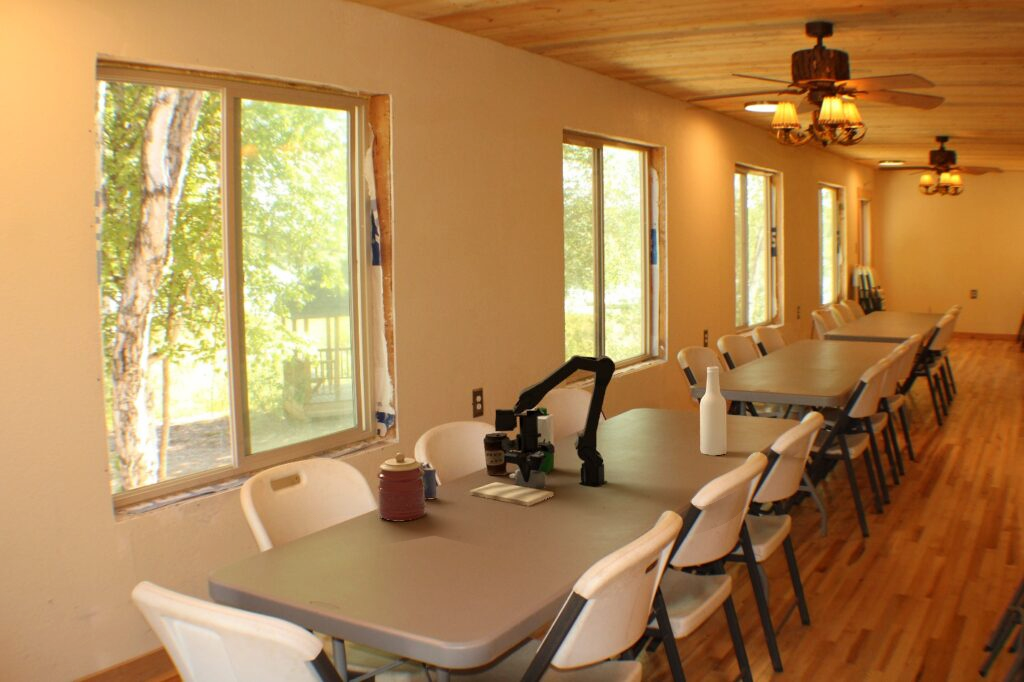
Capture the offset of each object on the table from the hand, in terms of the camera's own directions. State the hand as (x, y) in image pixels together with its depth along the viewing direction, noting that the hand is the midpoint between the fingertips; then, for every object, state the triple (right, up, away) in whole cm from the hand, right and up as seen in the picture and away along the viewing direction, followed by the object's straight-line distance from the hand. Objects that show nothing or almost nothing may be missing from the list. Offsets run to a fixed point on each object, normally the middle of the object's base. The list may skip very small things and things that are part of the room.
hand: (530, 480), depth 286 cm
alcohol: (+64, +4, +35) cm, 73 cm away
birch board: (-6, -3, -10) cm, 12 cm away
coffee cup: (-10, 0, +16) cm, 19 cm away
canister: (-36, -6, -27) cm, 45 cm away
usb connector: (0, -2, 0) cm, 2 cm away
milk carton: (+4, 0, +19) cm, 19 cm away
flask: (-32, -4, -10) cm, 34 cm away
